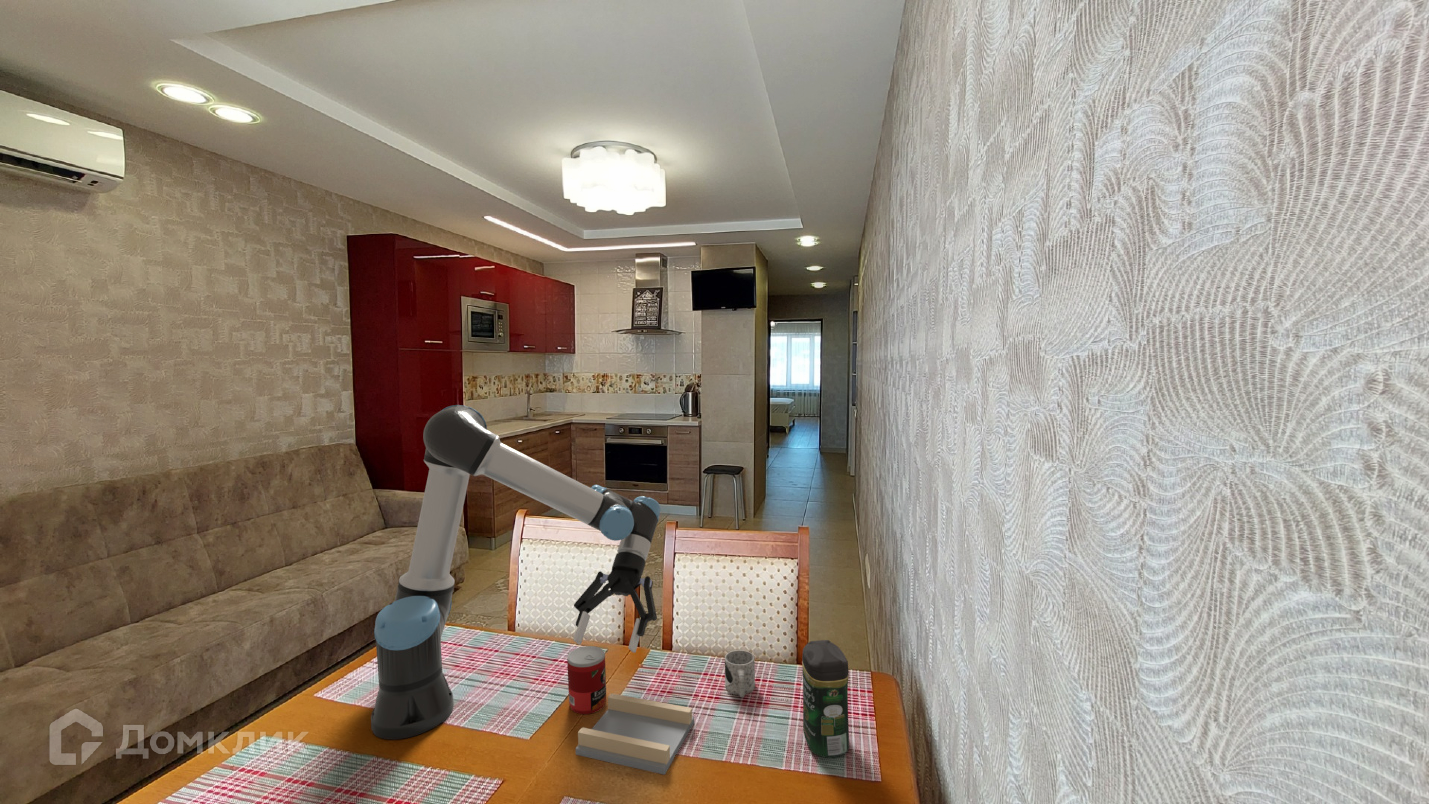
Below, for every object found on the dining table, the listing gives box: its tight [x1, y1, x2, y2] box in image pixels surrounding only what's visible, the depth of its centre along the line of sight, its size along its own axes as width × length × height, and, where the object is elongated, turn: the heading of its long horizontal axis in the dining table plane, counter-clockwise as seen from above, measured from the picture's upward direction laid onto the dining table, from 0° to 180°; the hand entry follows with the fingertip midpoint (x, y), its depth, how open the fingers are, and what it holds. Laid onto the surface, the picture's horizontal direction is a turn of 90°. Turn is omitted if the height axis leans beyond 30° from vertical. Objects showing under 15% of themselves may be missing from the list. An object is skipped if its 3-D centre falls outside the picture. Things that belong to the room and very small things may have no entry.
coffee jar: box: [801, 639, 850, 758], centre depth 107 cm, size 10×8×19 cm
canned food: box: [566, 645, 607, 715], centre depth 121 cm, size 8×8×11 cm
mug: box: [724, 649, 756, 698], centre depth 125 cm, size 10×7×7 cm
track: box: [575, 693, 695, 775], centre depth 110 cm, size 18×15×4 cm
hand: (603, 646), depth 126 cm, fingers open, 13 cm apart
